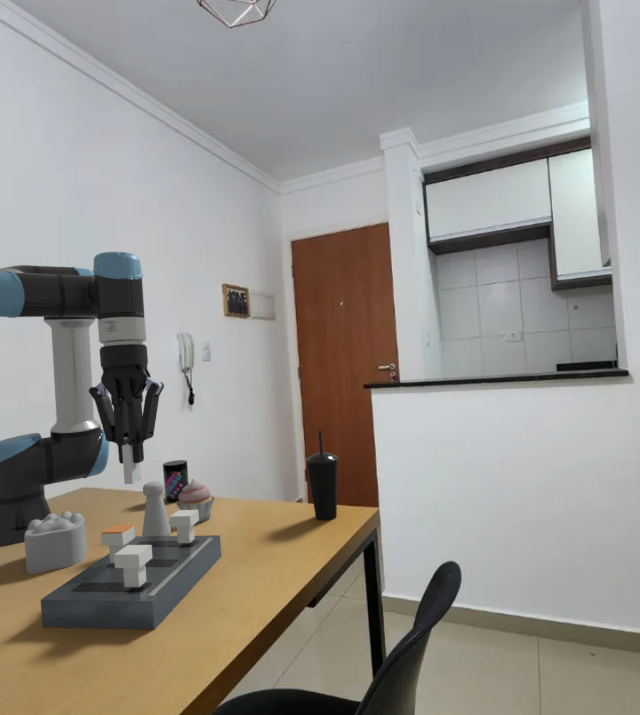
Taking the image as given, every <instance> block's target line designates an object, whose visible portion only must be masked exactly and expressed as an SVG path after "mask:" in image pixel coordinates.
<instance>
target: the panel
mask: <svg viewBox="0 0 640 715" xmlns="http://www.w3.org/2000/svg"><path fill="white" fill-rule="evenodd" d="M194 537H195V539H194V540H193V541H192V542H190V543H178V539H177V535H169V536H142V535H141V536H140V535H139V536H136V535H135V538H134V539H133V540H131V541H130V542H129V545H152V559H150V560H149V561H148V562H147V563H145V568H146V582H145V583H144V584H142V585H141V586H140V587H125V585H124V572H123V568H115V563H110V553H108V554H106V555H104V556H103V557H102V558H100V559H99V560H98V561H96V562H94V563H93V564H92V565H90V566H88V567H87V568H85V569H84V570H82V571H81V572H79V573H78V574H76V575H74V576H73V577H72V578H70V579H69V580H67V581H66V582H65V583H63V584H62V585H60V586H59V587H57V588H56V589H54V590H53V591H52V592H50V593H48V594H47V595H45V596H44V597H42V598H40V612H41V624H42V625H41V626H42V627H43V628H72V629H73V628H76V629H77V628H78V629H79V628H81V629H83V628H84V629H120V630H121V629H123V630H125V629H126V630H156V629H157V628H158V626H159V625H161V623H162V622H163V621H164V620H165V619H166V618H167V617H168V615H169V614H171V612H172V611H173V610H174V609H175V608H176V607H177V606H178V605H179V603H181V601H182V600H183V599H184V598H185V596H186V595H188V593H189V592H191V590H192V589H193V588H194V587H195V586H196V585H197V584H198V583H199V582H200V581H201V579H202V578H203V577H204V576H205V575H206V574H207V573H208V572H209V571H210V570H211V568H212V567H213V566H215V564H216V563H217V562H218V560H219V559H221V557H222V546H221V542H222V541H221V535H219V534H218V535H215V534H214V535H213V534H212V535H194Z"/></svg>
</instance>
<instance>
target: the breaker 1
mask: <svg viewBox="0 0 640 715" xmlns="http://www.w3.org/2000/svg"><path fill="white" fill-rule="evenodd" d="M150 559H152V545H127V546H126V547H124V548H123V549H121V550H120V551H119V552H117V553H116V554H114V561H115V568H123V572H124V585H125V587H140V586H141V585H142V584H144V583H145V582H146V568H145V563H147V562H148V561H149V560H150Z"/></svg>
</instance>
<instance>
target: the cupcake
mask: <svg viewBox="0 0 640 715" xmlns="http://www.w3.org/2000/svg"><path fill="white" fill-rule="evenodd" d="M215 499H216V497H214V495H212V494H211V490H210V488H209V487H208V486H207V485H206V484H204V483H201V482H200V481H199V480H198V479H195V478H192V479H191V482H189V484H188V485H187V486H185V487H184V488H183V489H182V492H181V493H180V494H179V501H178V502H174V503H175V505H176V507H178V510H198V512H199V521H198V522H196V523H195V524H200V522H201V523H203V522H206V521H208V520H209V519H211V515H212V514H211V513H212V509H213V505H214V502H215Z"/></svg>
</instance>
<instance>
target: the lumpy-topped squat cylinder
mask: <svg viewBox="0 0 640 715" xmlns="http://www.w3.org/2000/svg"><path fill="white" fill-rule="evenodd" d="M85 521H86V520H85V517H84V516H83V514H82V513H80V512H75V513H72V512H71V511H69V510H64V511H63V512H62V513H61V514H59V515H57V514H56V513H53V512H51V514H49V515H47V516H46V517H45V519H44V520H41V521H40V520H38V519H36V520H33V521H31V522H30V523H29V526H28V529H27V530H26V532H25V535H24V537H25V541H24V549H25V550H24V551H25V561H26V562H25V564H26V573H28V574H31V575H32V574H37V575H38V574H42V573H45V572H46V573H47V572H50V571H54V570H60V569H67V568H71V567H74V566H76V565H78V564H81V563H82V562H83V561H84V560H85V558H86V556H87V553H88V550H87V549H88V548H87V535H86V534H87V532H86V522H85Z"/></svg>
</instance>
